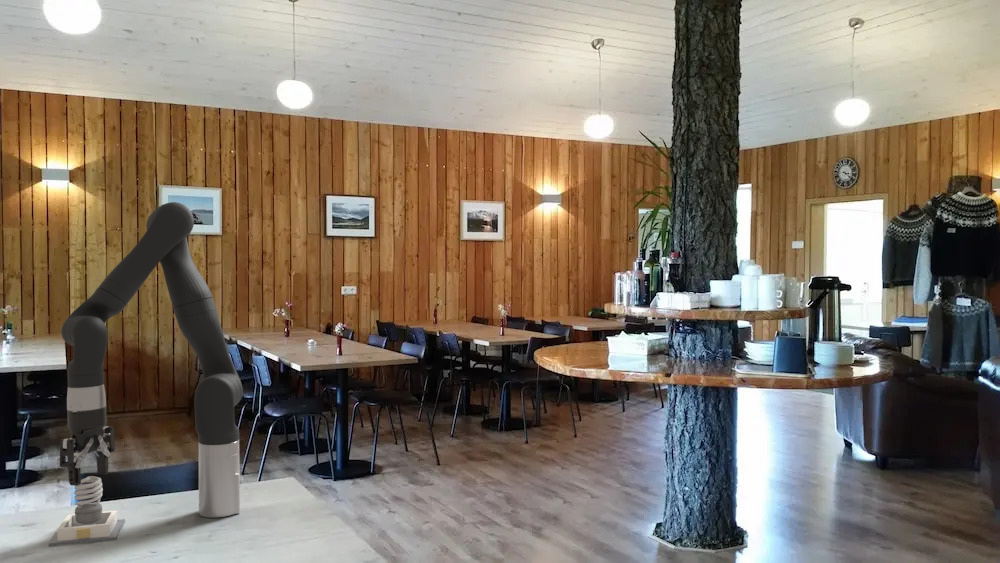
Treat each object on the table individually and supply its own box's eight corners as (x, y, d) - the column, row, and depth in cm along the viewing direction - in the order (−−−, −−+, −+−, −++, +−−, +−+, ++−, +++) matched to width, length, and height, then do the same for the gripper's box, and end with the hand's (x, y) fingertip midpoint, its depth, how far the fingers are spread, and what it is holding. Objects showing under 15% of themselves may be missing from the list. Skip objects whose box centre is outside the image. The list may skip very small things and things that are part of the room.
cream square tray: (117, 521, 176) (117, 510, 176) (108, 536, 166) (108, 525, 166) (68, 525, 173) (68, 514, 173) (56, 541, 163) (56, 530, 163)
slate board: (125, 521, 178) (125, 519, 178) (116, 539, 166) (116, 537, 166) (61, 527, 174) (61, 524, 174) (48, 546, 163) (48, 543, 163)
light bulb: (99, 524, 174) (99, 471, 174) (106, 531, 170) (105, 477, 170) (71, 529, 171) (71, 476, 170) (77, 536, 166) (76, 481, 166)
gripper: (94, 400, 176) (96, 470, 177) (47, 412, 162) (49, 488, 163) (123, 400, 175) (125, 471, 175) (78, 412, 161) (81, 489, 161)
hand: (89, 479), depth 169 cm, fingers open, 8 cm apart
